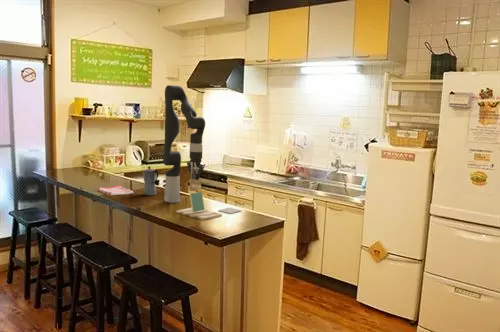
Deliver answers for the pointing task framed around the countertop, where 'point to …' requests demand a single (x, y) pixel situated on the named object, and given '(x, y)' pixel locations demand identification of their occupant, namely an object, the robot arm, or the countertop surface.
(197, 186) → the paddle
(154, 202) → the countertop surface
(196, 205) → the tile
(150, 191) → the moka pot
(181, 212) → the board
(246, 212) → the countertop surface
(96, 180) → the countertop surface
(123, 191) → the dish towel
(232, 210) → the mat
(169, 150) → the robot arm
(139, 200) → the countertop surface
